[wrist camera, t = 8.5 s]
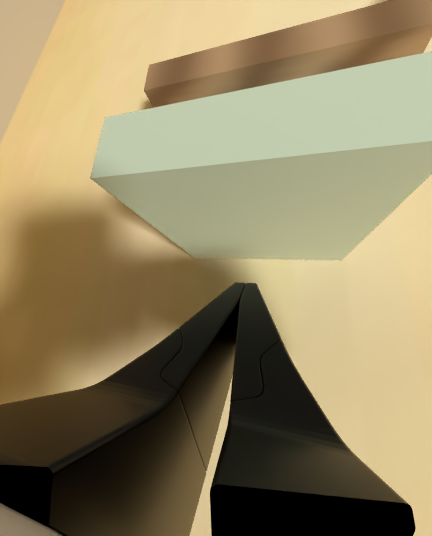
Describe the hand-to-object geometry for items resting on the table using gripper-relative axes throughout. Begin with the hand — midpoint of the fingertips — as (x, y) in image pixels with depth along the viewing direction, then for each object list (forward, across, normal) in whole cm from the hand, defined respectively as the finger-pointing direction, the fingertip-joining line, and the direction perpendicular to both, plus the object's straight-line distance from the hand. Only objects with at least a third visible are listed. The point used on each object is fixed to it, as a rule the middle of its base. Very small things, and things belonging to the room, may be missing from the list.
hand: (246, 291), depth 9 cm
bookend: (+11, 0, -2) cm, 11 cm away
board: (+16, 0, -8) cm, 18 cm away
